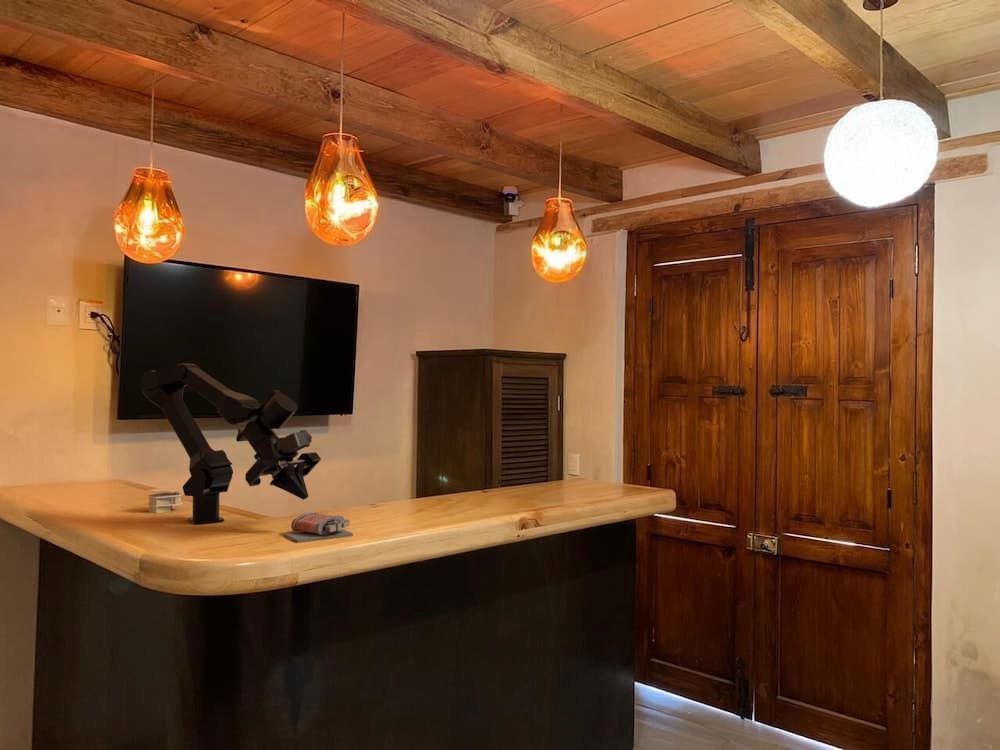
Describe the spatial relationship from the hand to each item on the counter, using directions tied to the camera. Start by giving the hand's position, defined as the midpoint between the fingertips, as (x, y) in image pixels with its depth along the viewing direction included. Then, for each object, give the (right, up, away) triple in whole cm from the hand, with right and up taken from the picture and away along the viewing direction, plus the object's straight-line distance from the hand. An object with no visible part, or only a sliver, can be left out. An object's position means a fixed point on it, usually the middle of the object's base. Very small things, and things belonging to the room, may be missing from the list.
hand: (306, 498), depth 159 cm
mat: (+4, -7, -4) cm, 9 cm away
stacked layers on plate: (-40, -7, +24) cm, 48 cm away
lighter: (-1, -5, +1) cm, 5 cm away
